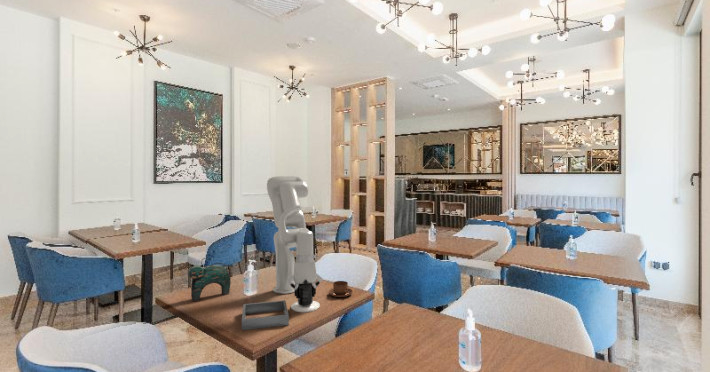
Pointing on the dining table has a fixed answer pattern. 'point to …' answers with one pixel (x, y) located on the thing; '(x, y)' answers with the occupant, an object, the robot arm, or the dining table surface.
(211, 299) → the dining table surface
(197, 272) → the ceramic cat
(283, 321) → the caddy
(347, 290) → the cup and saucer
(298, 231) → the robot arm
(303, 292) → the supplement bottle
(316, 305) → the plate
